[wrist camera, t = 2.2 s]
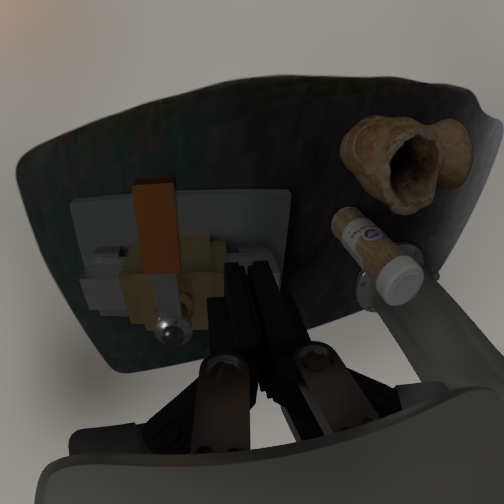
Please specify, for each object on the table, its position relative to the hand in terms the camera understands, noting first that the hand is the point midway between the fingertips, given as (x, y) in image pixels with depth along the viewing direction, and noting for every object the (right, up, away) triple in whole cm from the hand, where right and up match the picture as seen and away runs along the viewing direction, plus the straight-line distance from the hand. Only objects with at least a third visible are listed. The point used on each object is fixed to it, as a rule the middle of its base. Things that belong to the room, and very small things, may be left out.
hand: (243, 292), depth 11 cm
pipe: (+17, +14, +18) cm, 28 cm away
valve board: (-8, +1, +21) cm, 23 cm away
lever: (-6, 0, +9) cm, 11 cm away
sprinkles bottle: (+12, +5, +23) cm, 26 cm away
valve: (-8, 0, +20) cm, 21 cm away
